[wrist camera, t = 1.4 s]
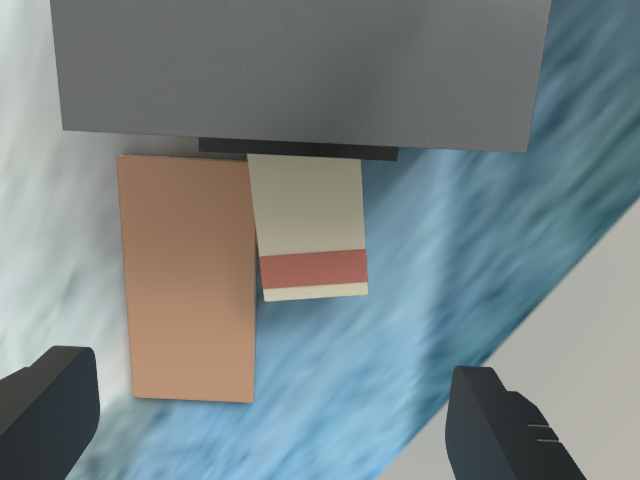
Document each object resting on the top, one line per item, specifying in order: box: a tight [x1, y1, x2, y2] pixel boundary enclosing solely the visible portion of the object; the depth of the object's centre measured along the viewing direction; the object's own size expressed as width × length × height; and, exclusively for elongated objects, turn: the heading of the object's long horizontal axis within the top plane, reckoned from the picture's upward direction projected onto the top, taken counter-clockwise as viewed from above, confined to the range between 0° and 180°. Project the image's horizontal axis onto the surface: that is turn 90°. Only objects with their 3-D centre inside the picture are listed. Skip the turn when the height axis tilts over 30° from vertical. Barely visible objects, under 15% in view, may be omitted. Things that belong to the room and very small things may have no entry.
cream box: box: [247, 154, 368, 302], centre depth 24 cm, size 12×5×4 cm, turn 4°
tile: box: [116, 154, 257, 403], centre depth 27 cm, size 14×7×1 cm, turn 177°
